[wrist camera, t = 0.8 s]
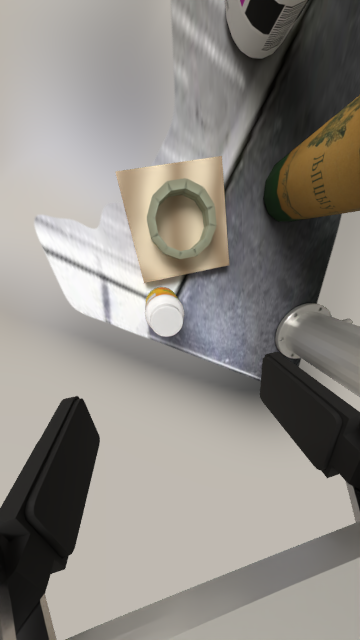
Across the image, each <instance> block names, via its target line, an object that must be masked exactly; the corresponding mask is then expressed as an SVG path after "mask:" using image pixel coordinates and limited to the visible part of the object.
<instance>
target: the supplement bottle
mask: <svg viewBox="0 0 360 640" xmlns="http://www.w3.org/2000/svg"><path fill="white" fill-rule="evenodd" d="M145 317H146V321H147V323H148V324H149V326H150V327H151V328H152V329H153V330H154V332H155V333H157V334H158V335H160V336H164V337H169V336H173V335H175V334H176V333H178V332H179V330H180V329H181V327H182V325H183V318H184V309H183V306H182V304H181V302H180V301H179V299H178V298H177V296H176V295H175V293H174V292H173V291H172V290H170V289H169V288H166V287H158V288H155V289H153V290H152V291H151V292H150V293H149V294H148V296H147V298H146V307H145Z"/></svg>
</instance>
